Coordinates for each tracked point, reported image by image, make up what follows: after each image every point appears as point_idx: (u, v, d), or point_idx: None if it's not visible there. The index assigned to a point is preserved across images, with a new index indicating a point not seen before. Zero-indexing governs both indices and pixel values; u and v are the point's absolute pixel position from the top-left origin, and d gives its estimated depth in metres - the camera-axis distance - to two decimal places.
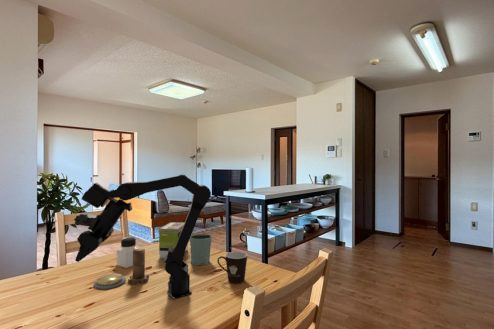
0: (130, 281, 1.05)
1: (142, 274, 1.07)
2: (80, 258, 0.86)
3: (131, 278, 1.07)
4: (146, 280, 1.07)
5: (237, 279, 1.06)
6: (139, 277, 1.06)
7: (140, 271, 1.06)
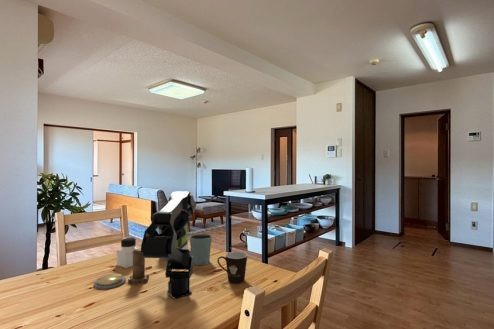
0: (130, 281, 1.05)
1: (142, 274, 1.07)
2: None
3: (131, 278, 1.07)
4: (146, 280, 1.07)
5: (237, 279, 1.06)
6: (139, 277, 1.06)
7: (140, 271, 1.06)
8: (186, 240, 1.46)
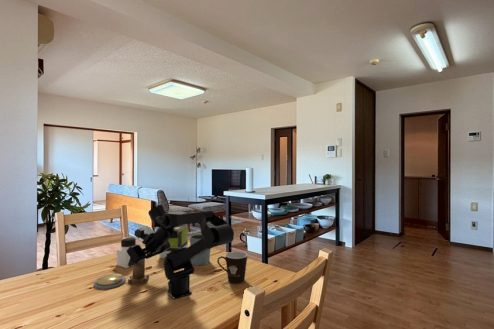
0: (130, 281, 1.05)
1: (142, 274, 1.07)
2: (130, 264, 1.03)
3: (131, 278, 1.07)
4: (146, 280, 1.07)
5: (237, 279, 1.06)
6: (139, 277, 1.06)
7: (140, 271, 1.06)
8: (186, 240, 1.46)
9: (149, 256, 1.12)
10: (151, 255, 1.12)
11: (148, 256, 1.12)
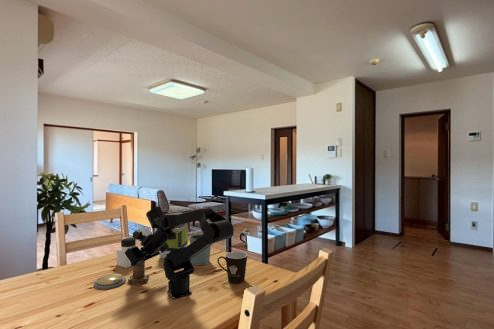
0: (130, 281, 1.05)
1: (142, 274, 1.07)
2: (133, 264, 1.05)
3: (131, 278, 1.07)
4: (146, 280, 1.07)
5: (237, 279, 1.06)
6: (139, 277, 1.06)
7: (140, 271, 1.06)
8: (186, 240, 1.46)
9: None
10: (145, 258, 1.10)
11: None
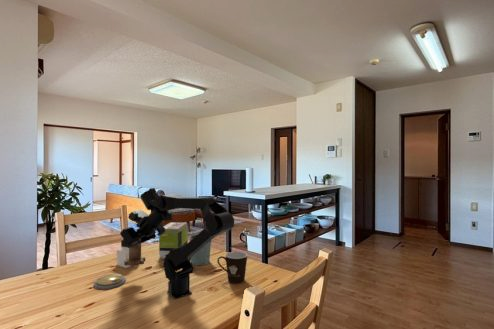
0: (126, 263, 1.05)
1: (138, 256, 1.07)
2: (129, 246, 1.05)
3: (127, 260, 1.07)
4: (142, 262, 1.07)
5: (237, 279, 1.06)
6: (135, 259, 1.06)
7: (137, 253, 1.06)
8: (186, 240, 1.46)
9: None
10: (142, 241, 1.10)
11: None
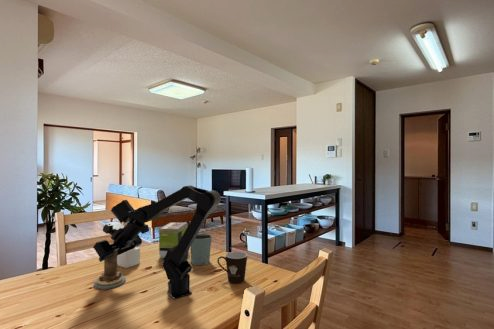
0: (101, 278, 1.03)
1: (114, 271, 1.05)
2: (101, 260, 1.02)
3: (102, 275, 1.04)
4: (118, 277, 1.05)
5: (237, 279, 1.06)
6: (110, 274, 1.04)
7: (112, 268, 1.04)
8: None
9: (118, 253, 1.09)
10: (120, 252, 1.09)
11: (117, 253, 1.09)
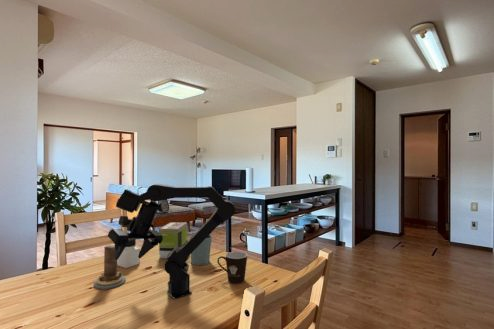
0: (101, 278, 1.03)
1: (114, 271, 1.05)
2: (116, 256, 0.92)
3: (102, 275, 1.04)
4: (118, 277, 1.04)
5: (237, 279, 1.06)
6: (110, 274, 1.04)
7: (112, 269, 1.04)
8: (186, 240, 1.46)
9: (142, 253, 1.00)
10: (143, 251, 1.00)
11: (141, 253, 1.00)
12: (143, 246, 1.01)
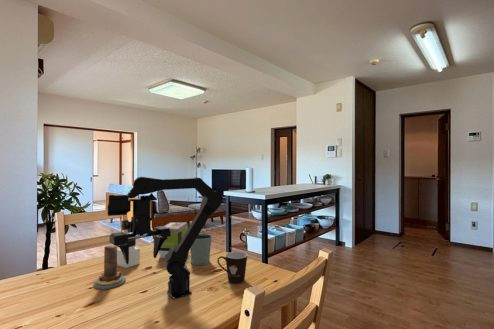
0: (101, 278, 1.03)
1: (114, 271, 1.05)
2: (125, 260, 0.89)
3: (102, 275, 1.04)
4: (118, 277, 1.04)
5: (237, 279, 1.06)
6: (110, 274, 1.04)
7: (112, 269, 1.04)
8: None
9: (155, 252, 0.95)
10: (156, 249, 0.95)
11: (154, 253, 0.96)
12: (154, 245, 0.96)
